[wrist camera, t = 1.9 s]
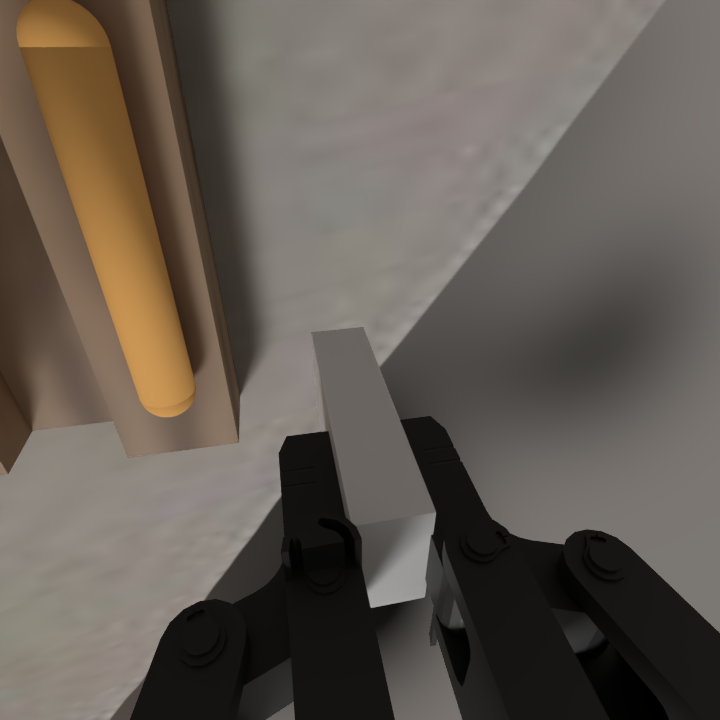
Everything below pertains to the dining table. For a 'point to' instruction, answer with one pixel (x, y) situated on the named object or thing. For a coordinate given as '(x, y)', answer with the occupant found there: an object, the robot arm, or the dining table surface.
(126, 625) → the dining table surface
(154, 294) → the orange rod
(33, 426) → the wooden tray
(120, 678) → the dining table surface
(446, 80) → the dining table surface
